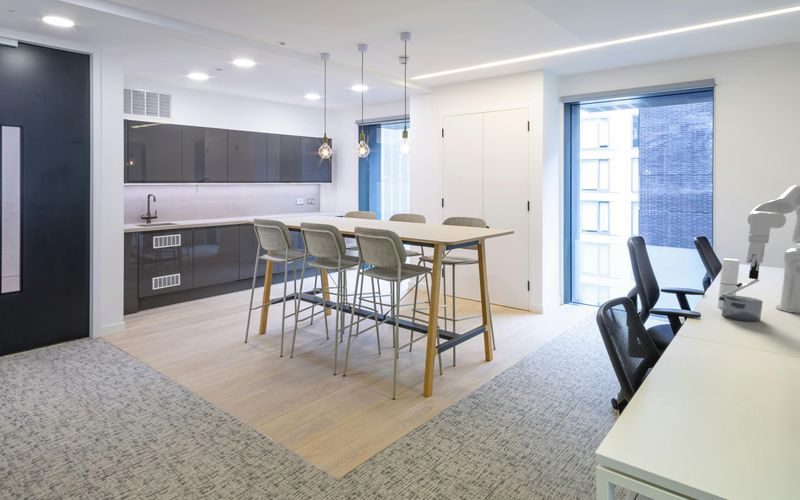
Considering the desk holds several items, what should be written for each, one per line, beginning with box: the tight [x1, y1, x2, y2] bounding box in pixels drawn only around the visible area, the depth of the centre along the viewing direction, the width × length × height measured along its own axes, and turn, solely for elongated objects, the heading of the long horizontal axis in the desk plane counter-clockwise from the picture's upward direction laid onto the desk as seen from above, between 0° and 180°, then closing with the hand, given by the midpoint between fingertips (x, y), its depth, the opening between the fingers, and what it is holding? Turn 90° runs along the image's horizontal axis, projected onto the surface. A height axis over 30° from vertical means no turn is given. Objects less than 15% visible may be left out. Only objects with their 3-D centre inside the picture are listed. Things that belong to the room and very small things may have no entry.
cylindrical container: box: [717, 257, 741, 309], centre depth 250 cm, size 7×7×25 cm
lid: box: [723, 278, 760, 296], centre depth 231 cm, size 16×16×3 cm
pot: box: [718, 295, 763, 323], centre depth 232 cm, size 20×16×9 cm
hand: (753, 278), depth 227 cm, fingers closed
